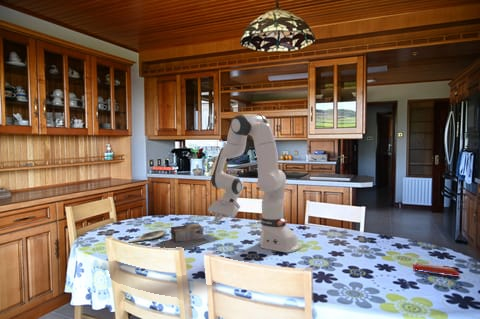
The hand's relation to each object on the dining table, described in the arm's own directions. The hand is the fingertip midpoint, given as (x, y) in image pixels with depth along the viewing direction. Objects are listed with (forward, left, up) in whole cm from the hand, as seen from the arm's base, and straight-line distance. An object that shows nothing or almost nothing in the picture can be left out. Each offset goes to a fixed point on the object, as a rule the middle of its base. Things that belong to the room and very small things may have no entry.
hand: (216, 221), depth 186 cm
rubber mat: (0, +24, -7) cm, 25 cm away
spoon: (+22, +37, -8) cm, 44 cm away
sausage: (-108, -20, -8) cm, 110 cm away
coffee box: (+1, +10, -4) cm, 11 cm away
